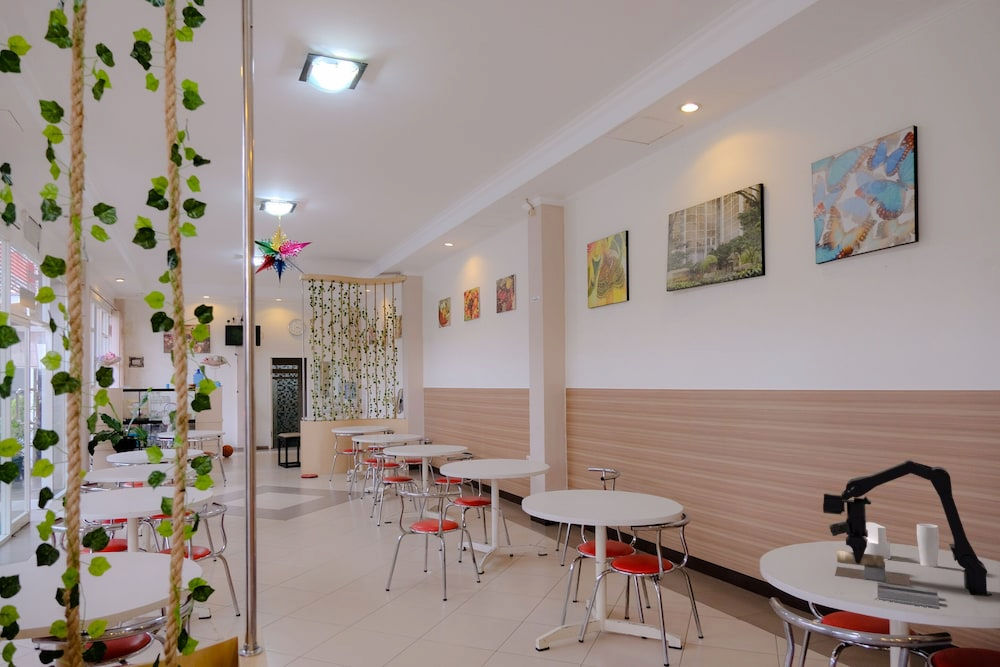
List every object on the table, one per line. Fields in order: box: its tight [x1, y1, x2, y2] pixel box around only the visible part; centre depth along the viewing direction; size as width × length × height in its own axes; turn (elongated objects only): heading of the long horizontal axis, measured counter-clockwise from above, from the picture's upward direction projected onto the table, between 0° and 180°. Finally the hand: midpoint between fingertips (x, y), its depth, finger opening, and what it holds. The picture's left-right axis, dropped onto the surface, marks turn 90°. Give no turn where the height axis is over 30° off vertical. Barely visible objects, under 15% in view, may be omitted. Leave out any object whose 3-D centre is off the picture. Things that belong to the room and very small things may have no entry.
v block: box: [876, 582, 940, 610], centre depth 206 cm, size 16×9×3 cm, turn 60°
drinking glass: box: [916, 522, 940, 568], centre depth 240 cm, size 7×7×15 cm
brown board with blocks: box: [834, 560, 911, 587], centre depth 227 cm, size 22×12×5 cm, turn 60°
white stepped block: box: [864, 521, 892, 560], centre depth 254 cm, size 9×9×12 cm
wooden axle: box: [836, 550, 885, 567], centre depth 229 cm, size 14×4×4 cm, turn 60°
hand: (858, 561), depth 229 cm, fingers closed on wooden axle, 4 cm apart
